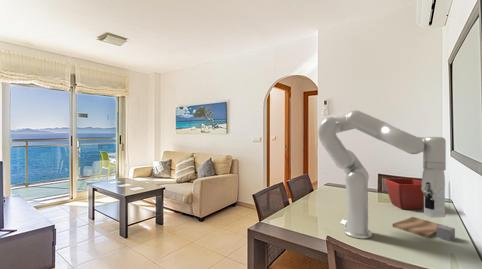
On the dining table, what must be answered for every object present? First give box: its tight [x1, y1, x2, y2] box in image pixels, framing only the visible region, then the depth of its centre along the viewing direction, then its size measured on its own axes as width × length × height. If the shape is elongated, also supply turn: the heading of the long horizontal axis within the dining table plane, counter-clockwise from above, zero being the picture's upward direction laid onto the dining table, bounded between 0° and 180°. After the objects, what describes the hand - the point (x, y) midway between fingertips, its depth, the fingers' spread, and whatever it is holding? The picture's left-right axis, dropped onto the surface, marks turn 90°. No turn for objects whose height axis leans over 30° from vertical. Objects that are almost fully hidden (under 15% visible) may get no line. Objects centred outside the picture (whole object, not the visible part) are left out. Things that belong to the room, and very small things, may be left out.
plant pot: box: [384, 178, 424, 211], centre depth 158 cm, size 19×19×17 cm
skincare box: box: [423, 188, 446, 219], centre depth 102 cm, size 6×4×12 cm
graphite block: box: [436, 224, 456, 242], centre depth 111 cm, size 5×5×5 cm
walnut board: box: [392, 216, 442, 239], centre depth 123 cm, size 16×20×2 cm
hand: (434, 206), depth 102 cm, fingers closed on skincare box, 7 cm apart
